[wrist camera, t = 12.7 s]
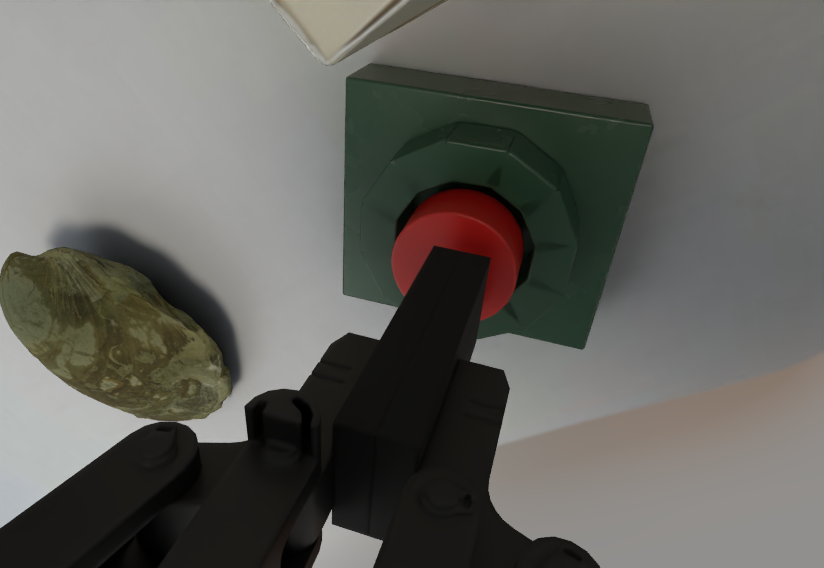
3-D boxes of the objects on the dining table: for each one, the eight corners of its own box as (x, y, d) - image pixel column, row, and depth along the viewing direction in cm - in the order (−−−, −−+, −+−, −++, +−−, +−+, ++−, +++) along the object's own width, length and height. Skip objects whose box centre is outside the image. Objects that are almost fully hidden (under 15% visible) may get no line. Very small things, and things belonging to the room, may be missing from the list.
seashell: (153, 457, 32) (-64, 467, 23) (133, 341, 35) (-65, 314, 27) (282, 371, 28) (80, 346, 20) (247, 251, 31) (60, 186, 23)
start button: (534, 200, 16) (528, 226, 15) (512, 304, 18) (505, 336, 17) (412, 177, 17) (394, 200, 15) (403, 280, 19) (387, 309, 17)
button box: (649, 104, 17) (660, 145, 14) (585, 316, 22) (582, 384, 19) (369, 62, 19) (320, 90, 16) (362, 267, 23) (322, 322, 20)
